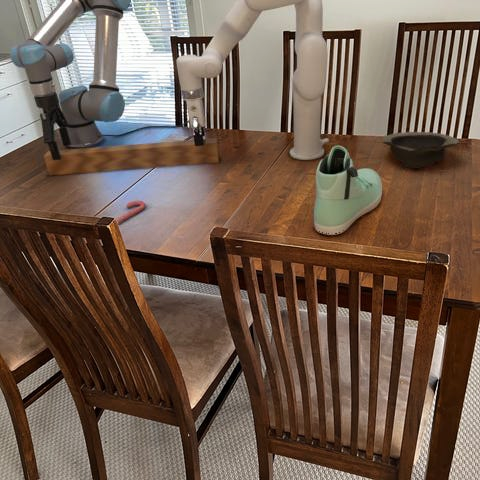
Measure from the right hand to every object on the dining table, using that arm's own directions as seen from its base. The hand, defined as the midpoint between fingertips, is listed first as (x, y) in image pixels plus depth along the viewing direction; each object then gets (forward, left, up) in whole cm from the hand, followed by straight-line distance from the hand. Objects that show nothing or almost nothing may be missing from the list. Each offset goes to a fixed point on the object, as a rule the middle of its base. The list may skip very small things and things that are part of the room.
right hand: (200, 140), depth 174 cm
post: (+20, -15, -8) cm, 26 cm away
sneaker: (-9, +63, -8) cm, 64 cm away
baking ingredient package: (-3, -27, -8) cm, 28 cm away
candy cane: (+40, +19, -8) cm, 45 cm away
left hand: (+41, -30, 0) cm, 51 cm away
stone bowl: (-53, +55, -8) cm, 76 cm away
